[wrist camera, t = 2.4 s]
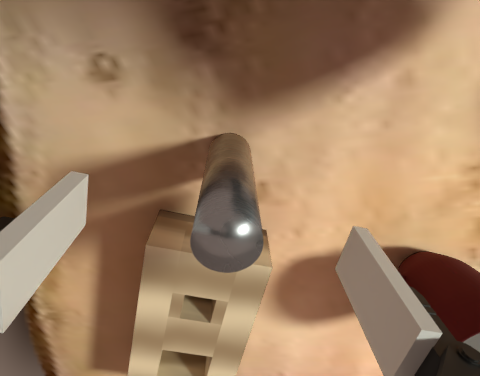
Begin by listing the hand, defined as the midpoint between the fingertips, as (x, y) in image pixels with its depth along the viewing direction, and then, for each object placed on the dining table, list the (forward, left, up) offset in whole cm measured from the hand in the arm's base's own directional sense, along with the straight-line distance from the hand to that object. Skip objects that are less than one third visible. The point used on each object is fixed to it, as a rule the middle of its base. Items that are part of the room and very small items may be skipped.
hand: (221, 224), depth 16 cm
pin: (0, 0, -10) cm, 10 cm away
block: (+15, 0, -10) cm, 18 cm away
